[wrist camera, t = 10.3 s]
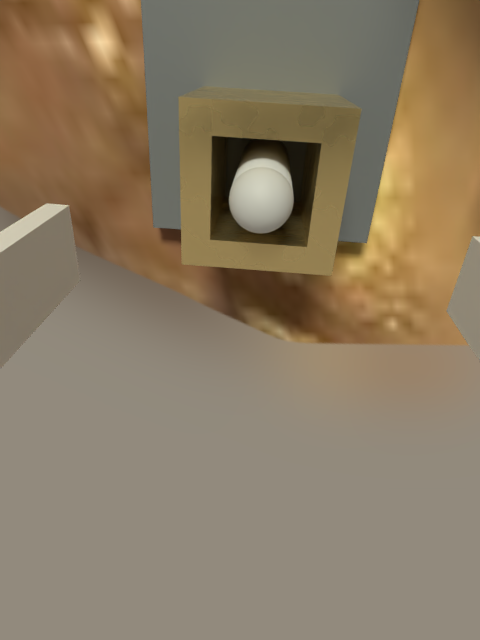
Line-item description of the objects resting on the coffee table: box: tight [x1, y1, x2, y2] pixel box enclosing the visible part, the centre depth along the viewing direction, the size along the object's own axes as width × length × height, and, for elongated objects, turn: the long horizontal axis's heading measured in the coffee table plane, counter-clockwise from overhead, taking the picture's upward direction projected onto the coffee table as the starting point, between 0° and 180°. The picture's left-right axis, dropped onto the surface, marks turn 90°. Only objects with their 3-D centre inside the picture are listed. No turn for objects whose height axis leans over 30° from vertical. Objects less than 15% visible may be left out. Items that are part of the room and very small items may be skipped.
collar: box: [178, 86, 362, 276], centre depth 24 cm, size 8×8×8 cm
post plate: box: [141, 0, 419, 243], centre depth 21 cm, size 15×22×12 cm
